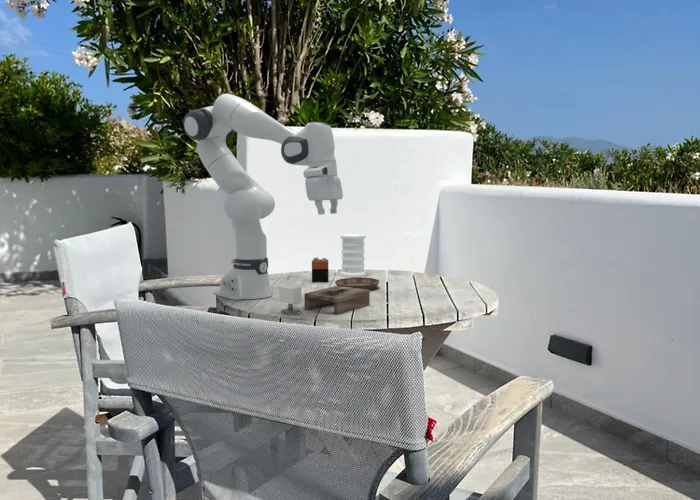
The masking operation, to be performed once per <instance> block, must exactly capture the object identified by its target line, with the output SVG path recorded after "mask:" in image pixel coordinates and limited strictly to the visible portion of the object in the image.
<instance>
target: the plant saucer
mask: <svg viewBox="0 0 700 500" xmlns="http://www.w3.org/2000/svg"><path fill="white" fill-rule="evenodd" d="M379 283H380V280H379V279H377V278H373V277H343V278H340V279H336V280H335V281H334V284H335V286H343V287H351V288H359V289H367V290H370V291H371V290H374V289H376V288H377V286H379Z"/></svg>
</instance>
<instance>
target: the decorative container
mask: <svg viewBox="0 0 700 500" xmlns="http://www.w3.org/2000/svg"><path fill="white" fill-rule="evenodd" d="M340 239H342V242H341V246H342V249H341V254H342V256H341V262H342V263H341V269H342V271H340V273H339V275H340V277H343V278H357V277H362V278H365V277H366V276H367V271H365V270H364V268H365V263H364V262H365V239H366V234H364V233H363V234H361V233H360V234H359V233H345V234H341V235H340Z"/></svg>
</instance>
